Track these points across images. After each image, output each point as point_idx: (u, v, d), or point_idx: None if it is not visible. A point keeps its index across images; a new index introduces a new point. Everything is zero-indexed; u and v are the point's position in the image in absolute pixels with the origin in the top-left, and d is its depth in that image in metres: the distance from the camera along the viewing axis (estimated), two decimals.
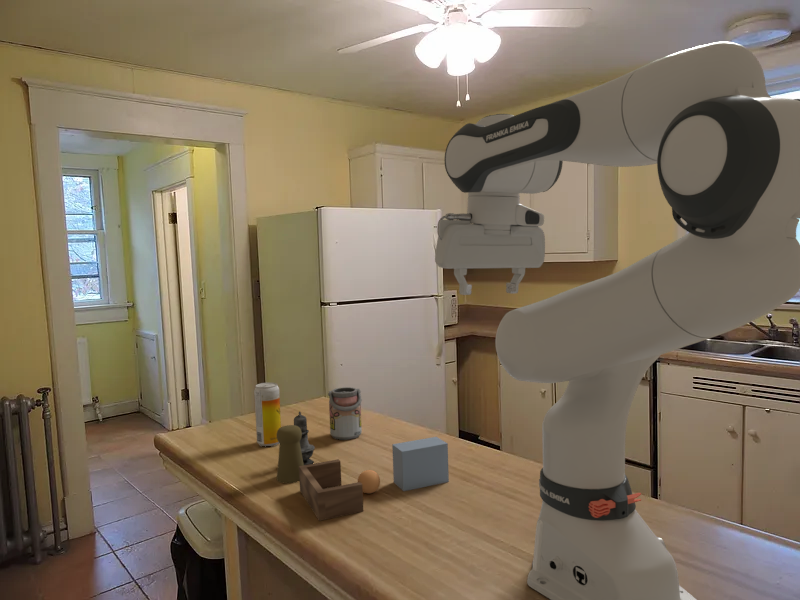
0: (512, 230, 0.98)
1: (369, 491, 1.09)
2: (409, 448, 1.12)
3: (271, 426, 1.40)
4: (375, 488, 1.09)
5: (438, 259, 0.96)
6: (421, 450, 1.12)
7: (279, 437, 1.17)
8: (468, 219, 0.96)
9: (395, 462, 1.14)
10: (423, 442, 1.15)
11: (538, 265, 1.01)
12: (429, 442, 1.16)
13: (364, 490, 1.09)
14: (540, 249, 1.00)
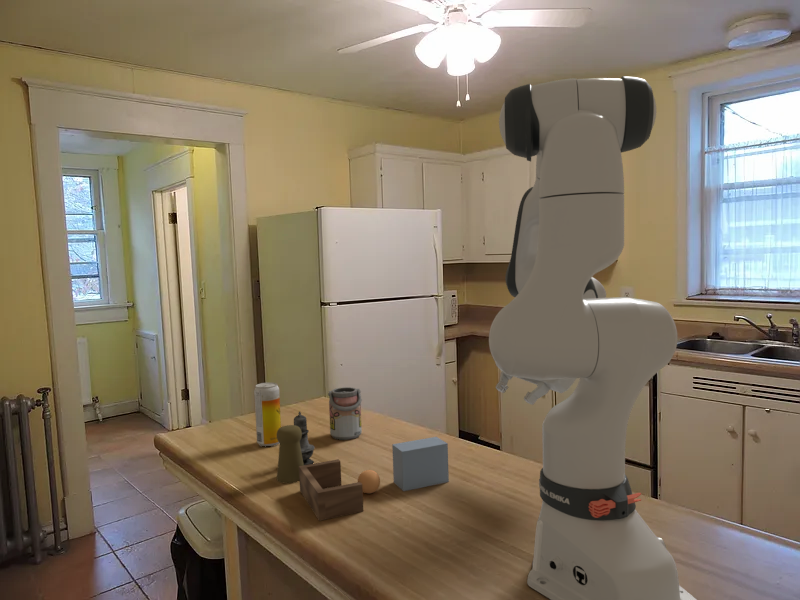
0: None
1: (369, 491, 1.09)
2: (409, 448, 1.12)
3: (271, 426, 1.40)
4: (375, 488, 1.09)
5: None
6: (421, 450, 1.12)
7: (279, 437, 1.17)
8: None
9: (395, 462, 1.14)
10: (423, 442, 1.15)
11: (551, 381, 1.08)
12: (429, 442, 1.16)
13: (364, 490, 1.09)
14: None
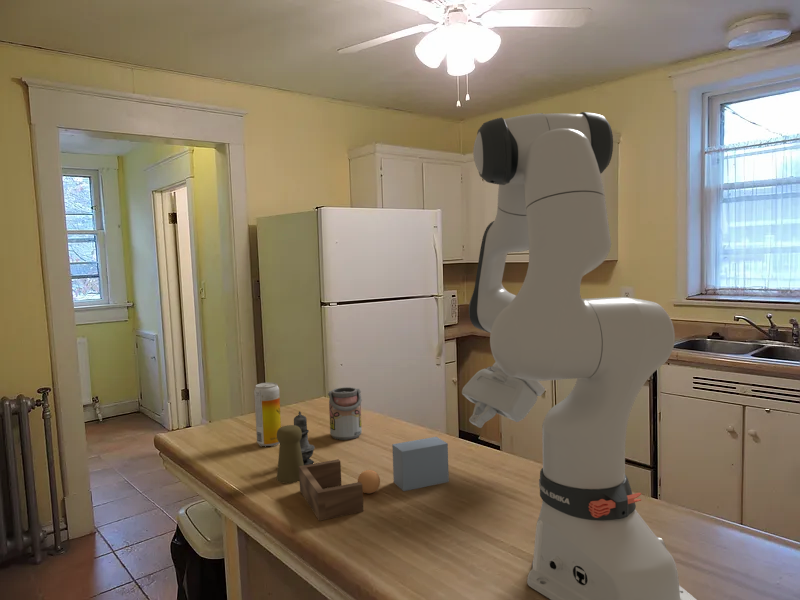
0: None
1: (369, 491, 1.09)
2: (409, 448, 1.12)
3: (271, 426, 1.40)
4: (375, 488, 1.09)
5: None
6: (421, 450, 1.12)
7: (279, 437, 1.17)
8: None
9: (395, 462, 1.14)
10: (423, 442, 1.15)
11: (506, 410, 1.12)
12: (429, 442, 1.16)
13: (364, 490, 1.09)
14: (514, 398, 1.13)
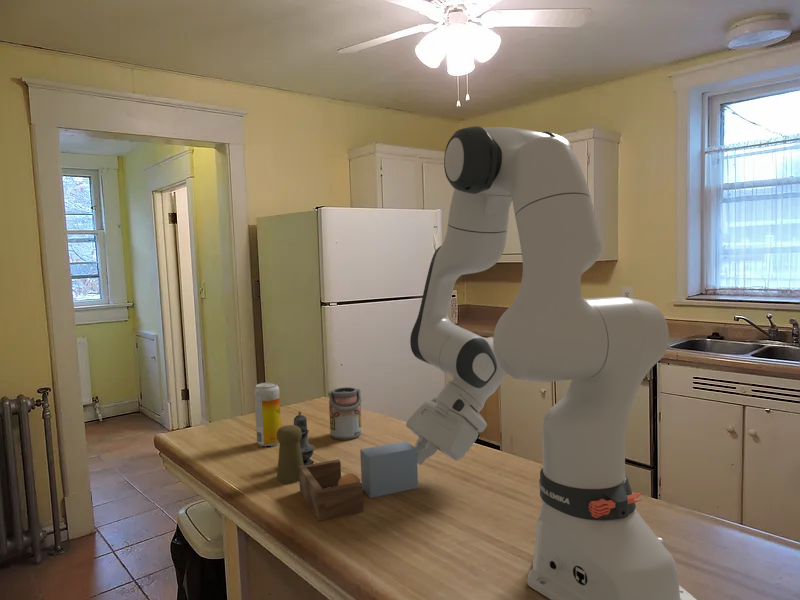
0: None
1: None
2: (377, 453, 1.10)
3: (271, 426, 1.40)
4: None
5: None
6: (389, 455, 1.10)
7: (279, 437, 1.17)
8: None
9: (362, 467, 1.12)
10: (391, 447, 1.13)
11: (444, 448, 1.07)
12: (398, 446, 1.13)
13: None
14: (452, 435, 1.08)
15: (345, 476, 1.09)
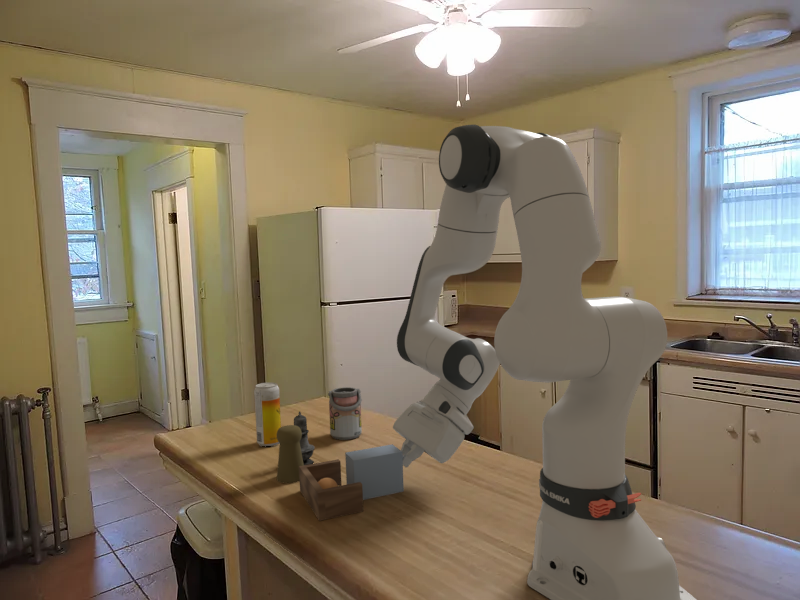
0: None
1: (327, 486, 1.06)
2: (362, 456, 1.08)
3: (271, 426, 1.40)
4: None
5: None
6: (374, 458, 1.08)
7: (279, 437, 1.17)
8: None
9: (347, 471, 1.10)
10: (377, 451, 1.11)
11: (430, 451, 1.06)
12: (384, 450, 1.12)
13: (330, 483, 1.06)
14: (438, 437, 1.06)
15: None
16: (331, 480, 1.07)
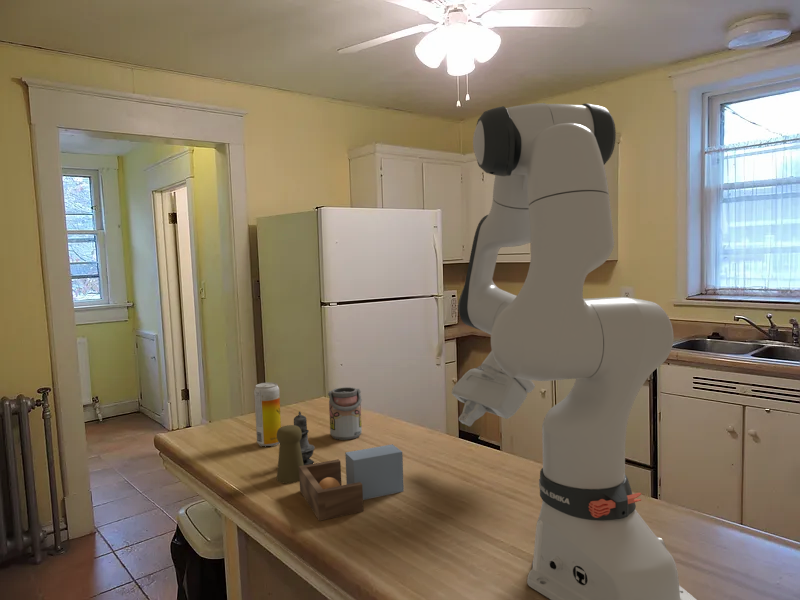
0: None
1: (331, 485, 1.06)
2: (362, 456, 1.08)
3: (271, 426, 1.40)
4: None
5: None
6: (374, 458, 1.08)
7: (279, 437, 1.17)
8: None
9: (347, 471, 1.10)
10: (377, 451, 1.11)
11: (495, 406, 1.10)
12: (384, 450, 1.12)
13: (334, 482, 1.07)
14: (503, 394, 1.10)
15: None
16: (335, 480, 1.08)
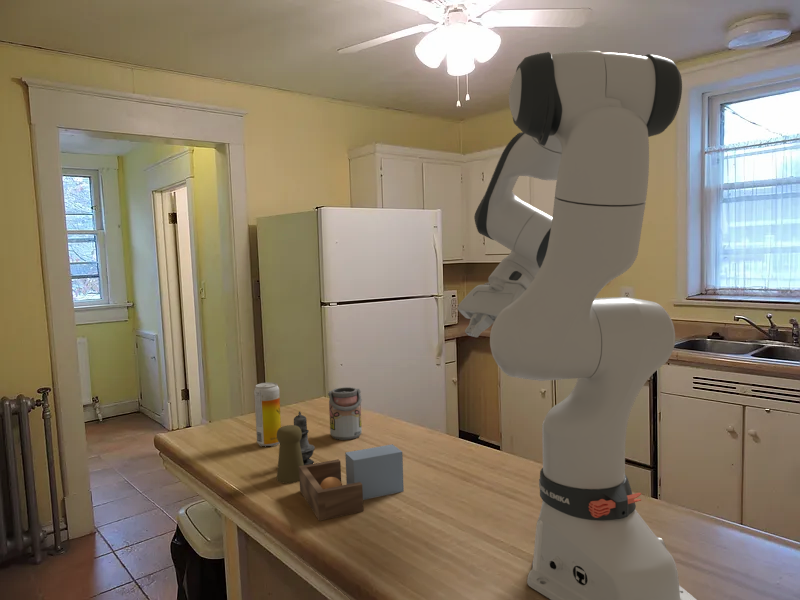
0: None
1: (334, 485, 1.06)
2: (362, 456, 1.08)
3: (271, 426, 1.40)
4: None
5: None
6: (374, 458, 1.08)
7: (279, 437, 1.17)
8: None
9: (347, 471, 1.10)
10: (377, 451, 1.11)
11: None
12: (384, 450, 1.12)
13: (338, 483, 1.07)
14: (511, 301, 1.09)
15: None
16: (339, 481, 1.08)
